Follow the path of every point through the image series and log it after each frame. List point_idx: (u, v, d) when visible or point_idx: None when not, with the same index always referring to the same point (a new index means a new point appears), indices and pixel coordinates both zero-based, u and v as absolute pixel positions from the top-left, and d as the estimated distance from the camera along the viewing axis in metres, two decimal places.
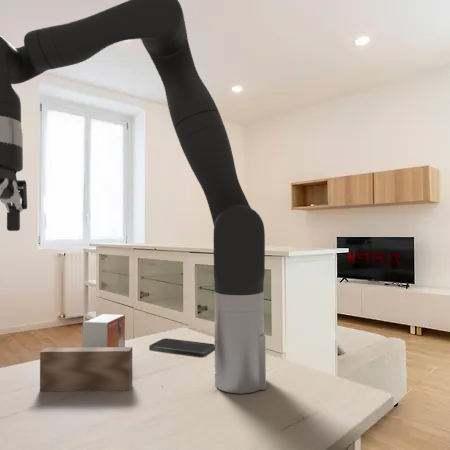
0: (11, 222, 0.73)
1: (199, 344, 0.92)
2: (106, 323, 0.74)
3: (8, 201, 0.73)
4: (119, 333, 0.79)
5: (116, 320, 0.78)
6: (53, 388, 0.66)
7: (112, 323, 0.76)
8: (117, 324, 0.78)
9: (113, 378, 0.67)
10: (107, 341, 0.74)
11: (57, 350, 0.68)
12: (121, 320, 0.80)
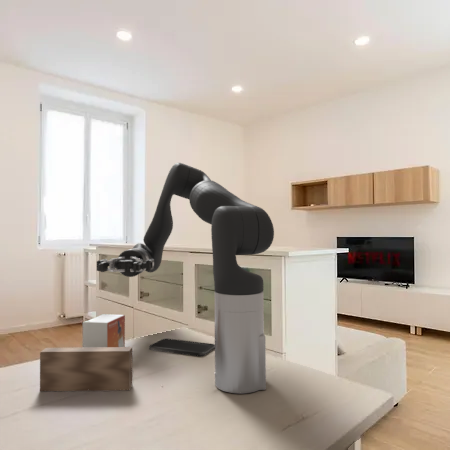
0: None
1: (199, 344, 0.92)
2: (106, 323, 0.74)
3: None
4: (119, 333, 0.79)
5: (116, 320, 0.78)
6: (53, 388, 0.66)
7: (112, 323, 0.76)
8: (117, 324, 0.78)
9: (113, 378, 0.67)
10: (107, 341, 0.74)
11: (57, 350, 0.68)
12: (121, 320, 0.80)
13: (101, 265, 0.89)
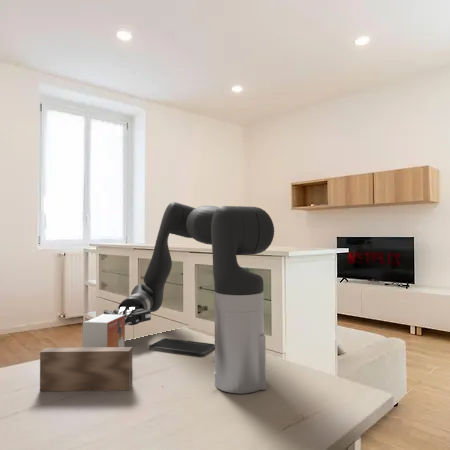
0: None
1: (199, 344, 0.92)
2: (106, 323, 0.74)
3: None
4: (119, 333, 0.79)
5: (116, 320, 0.78)
6: (53, 388, 0.66)
7: (112, 323, 0.76)
8: (117, 324, 0.78)
9: (113, 378, 0.67)
10: (107, 341, 0.74)
11: (57, 350, 0.68)
12: (121, 320, 0.80)
13: None
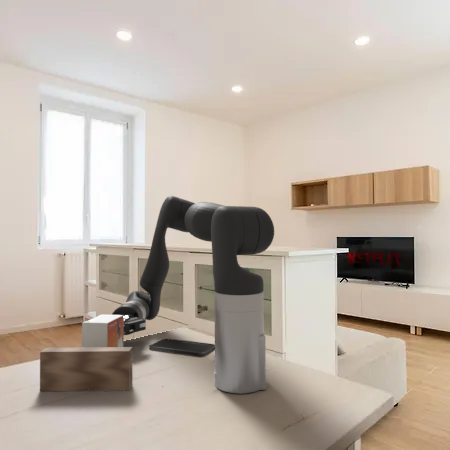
0: None
1: (199, 344, 0.92)
2: (106, 323, 0.74)
3: None
4: (118, 333, 0.78)
5: (115, 320, 0.77)
6: (53, 388, 0.66)
7: (112, 323, 0.76)
8: (116, 324, 0.77)
9: (113, 378, 0.67)
10: (108, 341, 0.74)
11: (57, 350, 0.68)
12: (120, 320, 0.79)
13: None
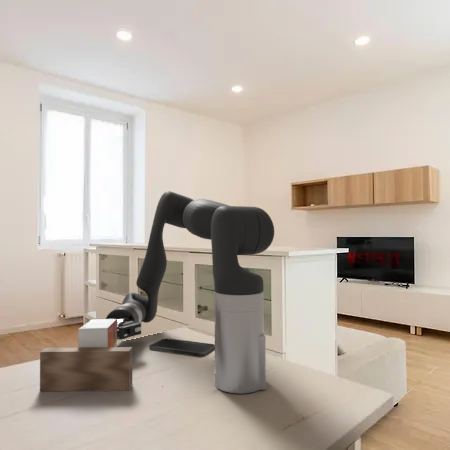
0: None
1: (199, 344, 0.92)
2: (106, 328, 0.70)
3: None
4: (114, 338, 0.75)
5: (112, 325, 0.73)
6: (53, 388, 0.66)
7: (110, 328, 0.72)
8: (113, 329, 0.74)
9: (113, 378, 0.67)
10: None
11: (57, 350, 0.68)
12: (115, 324, 0.76)
13: None
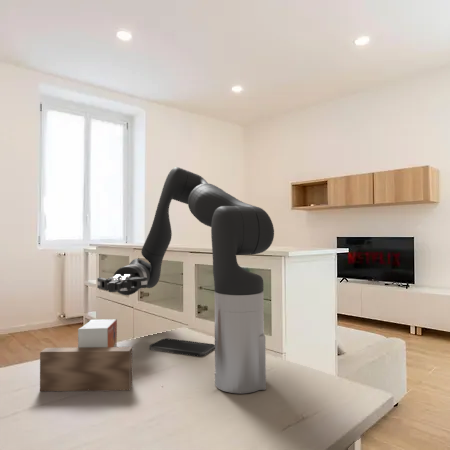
0: None
1: (199, 344, 0.92)
2: (106, 328, 0.70)
3: None
4: (114, 338, 0.75)
5: (112, 325, 0.73)
6: (53, 388, 0.66)
7: (110, 328, 0.72)
8: (113, 329, 0.74)
9: (113, 378, 0.67)
10: None
11: (57, 350, 0.68)
12: (115, 324, 0.76)
13: (110, 285, 0.83)
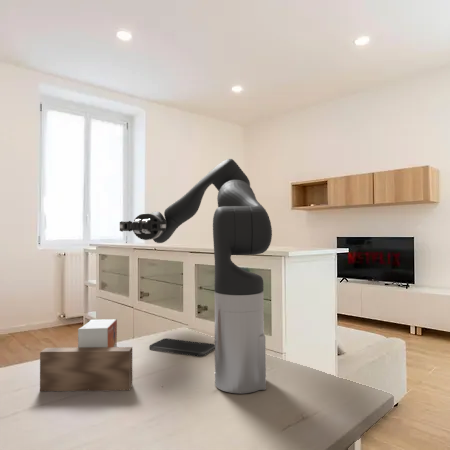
0: None
1: (199, 344, 0.92)
2: (106, 328, 0.70)
3: None
4: (114, 338, 0.75)
5: (112, 325, 0.73)
6: (53, 388, 0.66)
7: (110, 328, 0.72)
8: (113, 329, 0.74)
9: (113, 378, 0.67)
10: None
11: (57, 350, 0.68)
12: (115, 324, 0.76)
13: (133, 223, 0.90)
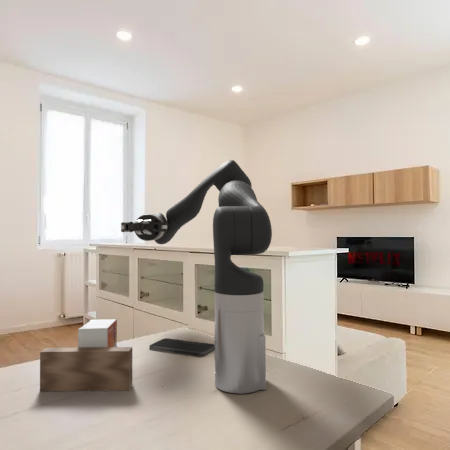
0: None
1: (199, 344, 0.92)
2: (106, 328, 0.70)
3: None
4: (114, 338, 0.75)
5: (112, 325, 0.73)
6: (53, 388, 0.66)
7: (110, 328, 0.72)
8: (113, 329, 0.74)
9: (113, 378, 0.67)
10: None
11: (57, 350, 0.68)
12: (115, 324, 0.76)
13: (134, 224, 0.91)
